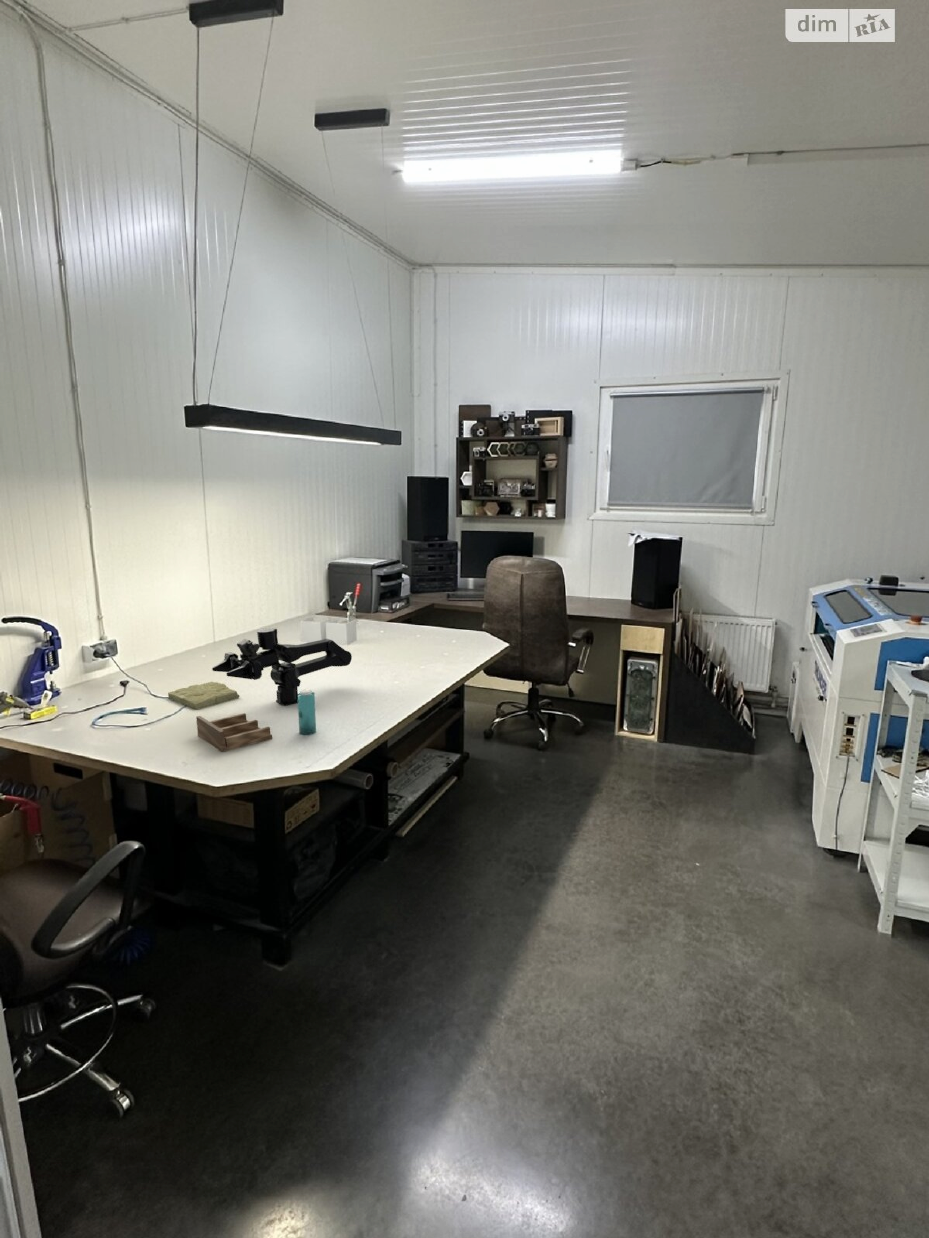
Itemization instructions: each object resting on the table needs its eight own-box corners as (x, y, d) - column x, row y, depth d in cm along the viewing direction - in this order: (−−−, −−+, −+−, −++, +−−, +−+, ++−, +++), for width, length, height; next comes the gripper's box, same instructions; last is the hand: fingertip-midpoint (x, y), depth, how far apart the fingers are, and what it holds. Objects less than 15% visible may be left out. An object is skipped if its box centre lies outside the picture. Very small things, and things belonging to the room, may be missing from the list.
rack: (246, 723, 221) (245, 705, 220) (272, 738, 208) (271, 719, 207) (197, 735, 210) (196, 716, 209) (221, 752, 197) (220, 732, 196)
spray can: (310, 727, 217) (309, 687, 214) (319, 732, 213) (317, 691, 211) (296, 731, 214) (294, 691, 211) (304, 736, 210) (302, 694, 207)
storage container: (301, 642, 336) (300, 620, 334) (312, 637, 346) (311, 616, 344) (346, 645, 329) (346, 623, 327) (356, 640, 339) (356, 619, 337)
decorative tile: (196, 711, 234) (195, 701, 234) (167, 699, 247) (166, 690, 246) (243, 698, 249) (243, 689, 248) (214, 688, 261) (214, 679, 261)
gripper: (244, 633, 236) (202, 644, 225) (274, 641, 224) (231, 653, 213) (248, 664, 239) (206, 675, 228) (277, 673, 227) (235, 686, 216)
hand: (219, 671), depth 221 cm, fingers open, 9 cm apart
